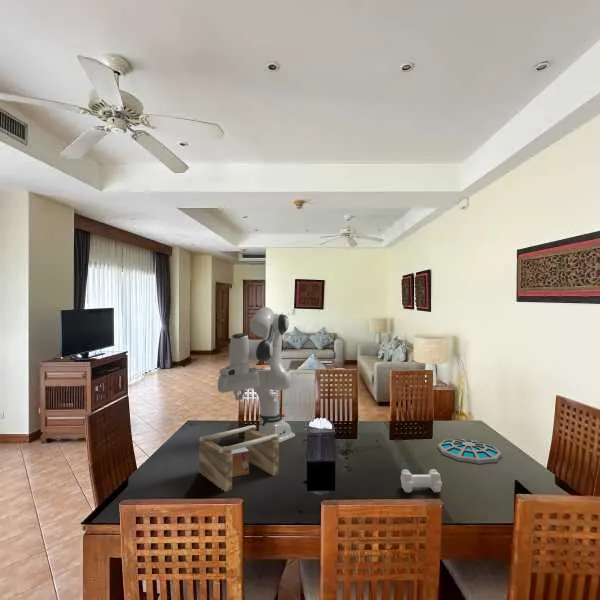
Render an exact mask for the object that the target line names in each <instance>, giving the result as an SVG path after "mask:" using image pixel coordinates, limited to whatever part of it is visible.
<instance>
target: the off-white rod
mask: <svg viewBox="0 0 600 600" xmlns="http://www.w3.org/2000/svg"><path fill="white" fill-rule="evenodd" d="M275 436H277V437H278V435H277V434H273V435H270V436H266V437H262V438H258V439H254V440H251V441H247V442H245V441H243V442H239V443H236V444H232V445H231V444H230V445H228V446H227V447H224V446H223V447H224V448H220V449H219V453H224V450H226V449H231V451H232V450H236V449H239V448H243V447H247V446H250V445H254V444H258V443H262V442H265V441H269V440H271V437H275Z"/></svg>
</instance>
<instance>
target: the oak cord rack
mask: <svg viewBox="0 0 600 600" xmlns="http://www.w3.org/2000/svg"><path fill="white" fill-rule="evenodd" d="M247 426H251V424H250V425H246V426H244V427H247ZM271 435H273V434H271ZM204 436H208V435H201V436H200V437H204ZM266 436H270V435H265V434H263V433H260V432H259V430H257V426H256V427H252V428H249V431H244V442H247V441H251V440H254V439H258V438H262V437H266ZM279 444H280V443H279V440H278V437H277V436H275V437H271V440H269V441H265V442H262V443H258V444H254V445H250V446H247V447H246V448H247V449H248V450H249V464H252V465H254V467H256V468H258V469H261V470H262V471H264V472H266V473H268V474H269V475H271V476H273V477H274V476H277V475H280V470H279V469H280V468H279V466H280V464H279V463H280V456H279V455H280V452H279V451H280V449H279V448H280V445H279ZM224 447H228V446H220V445H218V444H217V443H214V442H213V441H212V439H211V438H205V439H204V441H203V442H200V441H199V447H198V448H199V451H198V452H199V457H198V459H199V464H198V465H199V466H198V469H199V474H200V473H201V474H202V476H203V477H204V478H205V477H206V479H207V480H208V481H209V482H211V483H212V482H213V485H215V486H216V487H217V488H219V489H220V488H221V490H222V491H223V490H224V491H223V492H224V493H227V492H226V491H228V492H230V491H229V490H231V491H232V490H233V477H232V453H231V449H226V450H224V453H219V449H220V448H224ZM201 474H200V475H201Z"/></svg>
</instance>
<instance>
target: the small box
mask: <svg viewBox="0 0 600 600" xmlns="http://www.w3.org/2000/svg"><path fill="white" fill-rule="evenodd" d="M231 453H232V478H234V477H239V476H245V475H249V474H250V462H249V450H248V449H247V448H246V447H243V448H239V449H236V450H232V451H231Z"/></svg>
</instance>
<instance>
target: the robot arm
mask: <svg viewBox="0 0 600 600" xmlns="http://www.w3.org/2000/svg"><path fill="white" fill-rule="evenodd" d="M289 326H290V320H289V317H288V315H286V314H284V313H283V314H282V313H281V314H278V313H274V311H273V309H271V308H270V307H268V306H267V307H266V306H264V307H261V308H259V309H258V310H257V311H256V312H255V313H254V314H253V316H252V317H251V319H250V323H249V327H250V330H251V332H252V333H253V334H254V335H255V336H257V337H260V338H263V339H249V336H248V334H247V333H242V332H240V333H234V334H232V335H231V338H230V342H229V343H230V344H229V356H230V360H229V365H227V366H225V367H223V368H221V369H220V370H219V374H220V375H219V376H218V380H217V390H218V392H219V393H229V392H230V393H231V392H232V393H233V394H234V399H235V401H240V400H243V399H244V394H245V393H246V390H249V389H250V390H251V389H253V391H254V392H255V393H256V395H257V397H258V400H259V414H258V415H259V417H258V419H259V420H258V421H259V426H258V427H259V428H258V432H260V433H263V434H265V435H271V434H277V435H278V440H279V444H280V443H283V442H284V441H287V440H290V439H292V438H294V437H296V433H295V432H293V431H292V428H291V425H290V424H289V423H288V422H286V421H285V420H283V419H284V418H285V417H286V414H285V413H281V412H280V400H279V398H278V397H277V396H276V395H274V394H273V393H272V392H271V391H285V390H288V389H290V387H291V385H292V380H293V378H292V375H291V374H290V373H289V372H288V371H287V370H286V369H285V367H284V365H283V361H282V347H283V341H282V340H283V337H282V335H283V336H284V334H285V333H286V332H287V331H288V329H289ZM250 361H260V362H264V363H265V364H267V365H269V368H270V370H269V369H267V370H266V369H258V368H256V367H250ZM239 391H240V393H239ZM238 393H239V394H238ZM282 418H283V419H282Z"/></svg>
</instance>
